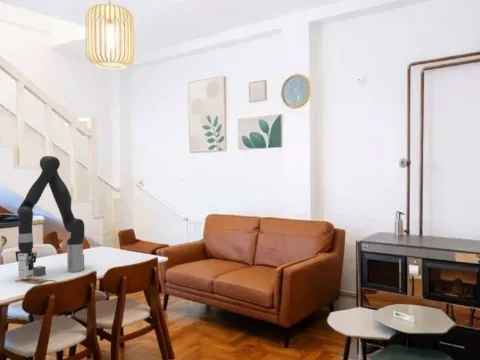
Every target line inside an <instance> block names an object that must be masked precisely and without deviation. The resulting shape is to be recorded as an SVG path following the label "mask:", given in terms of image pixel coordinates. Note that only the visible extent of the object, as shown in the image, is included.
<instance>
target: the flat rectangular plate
mask: <svg viewBox="0 0 480 360" xmlns="http://www.w3.org/2000/svg"><path fill="white" fill-rule="evenodd" d="M14 282H16V283H22V282H23V283H25V284H32V285H38V284H44V283H47V282H55V280H53V279H43V278H36V277H31V278H27V279H21V278H19V279H17V280H14Z"/></svg>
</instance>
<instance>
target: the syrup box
mask: <svg viewBox="0 0 480 360" xmlns="http://www.w3.org/2000/svg"><path fill="white" fill-rule="evenodd" d="M27 257H28V254H27V253H26V254H24V253H20V254H18V262H17V263H18V264H17V265H18V270H17V271H18V279H27V278H35V276H34V267H35V262H34V263H33V269H32V270H28V264H29V263H28V260H27ZM28 258H31V256H30V257H28ZM33 261H34V259H33ZM30 262H31V260H30Z"/></svg>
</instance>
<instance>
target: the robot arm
mask: <svg viewBox="0 0 480 360" xmlns="http://www.w3.org/2000/svg"><path fill="white" fill-rule="evenodd" d="M60 165H61V162H60V159H59V158H58V157H56V156H53V155H52V156H51V155H45V156H42V157H41V158H40V160H39V166H40V167H39V168H40V169H41V172H40V174H39V176H38V177H37V179H36V180H35V181H34V182H33V183H32V185H31V187H30V188H29V189H28V192H27V193H26V195H25V198H24V200H23V201H22V202H21V204H20V205H19V206H18V209H17V213H16V214H17V216H18V217H19V224H18V237H17V241H18V242H17V243H18V245H17V246H18V251H15V260H16V262H17V263H18V254H20V253H24V254H26V253H27V254H28V257H30V256H31V258H28V257H27V260H28V263H29V264H28V270H32V269H33V263H34V264H35V263H36V261H37V252H36V251H35V252H34V251H33V248H34V235H33V220H34V219H33V218H34V212H33V209H34V207H35V205H37V204H38V202H39V200H40V199H41V197H42V195H43V193H44V191H45V189H46V188H47V186H49V188H50V191H51V193H52V196H53V199H54V201H55V204H56V206H57V208H58V210H59V213H60V217H61V220H62V223H63V226H64V229H65V230H66V232H68V233H70V238H68V239H67V241H66V246H67V247H66V248H67V249H66V250H67V257H66V258H67V272H68V273H78V272H82V271H84V270H85V254H84V239H85V228H86V227H85V222H84V221H83V220H82V219H81V218H76V217H75V215H74V213H73V210H72V195H71V193H70V190H69V189H68V187H67V185H66V184H65V182H64V181H63V179H62V178H61V177H60V174H59V172H58V170H59V168H60ZM30 260H31V262H30ZM33 260H34V261H33Z"/></svg>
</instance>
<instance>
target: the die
mask: <svg viewBox="0 0 480 360" xmlns="http://www.w3.org/2000/svg"><path fill="white" fill-rule="evenodd" d="M46 271H47V270H46V266H43V265H37V266H34V277H38V278H39V277H42V276H46V275H47V273H46Z"/></svg>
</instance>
